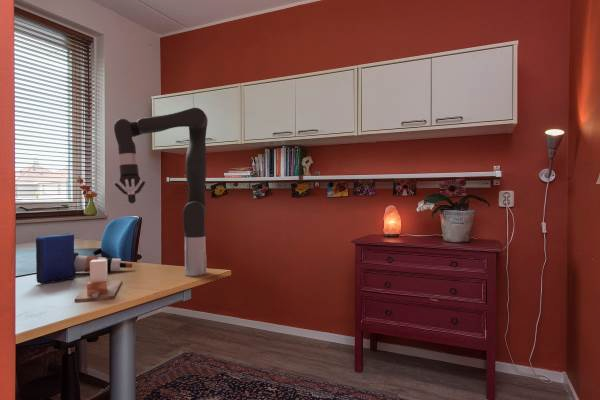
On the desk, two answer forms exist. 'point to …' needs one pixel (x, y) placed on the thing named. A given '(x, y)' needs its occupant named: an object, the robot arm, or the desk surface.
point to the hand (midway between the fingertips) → (132, 203)
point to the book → (55, 258)
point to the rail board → (101, 296)
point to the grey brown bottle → (84, 261)
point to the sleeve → (98, 270)
